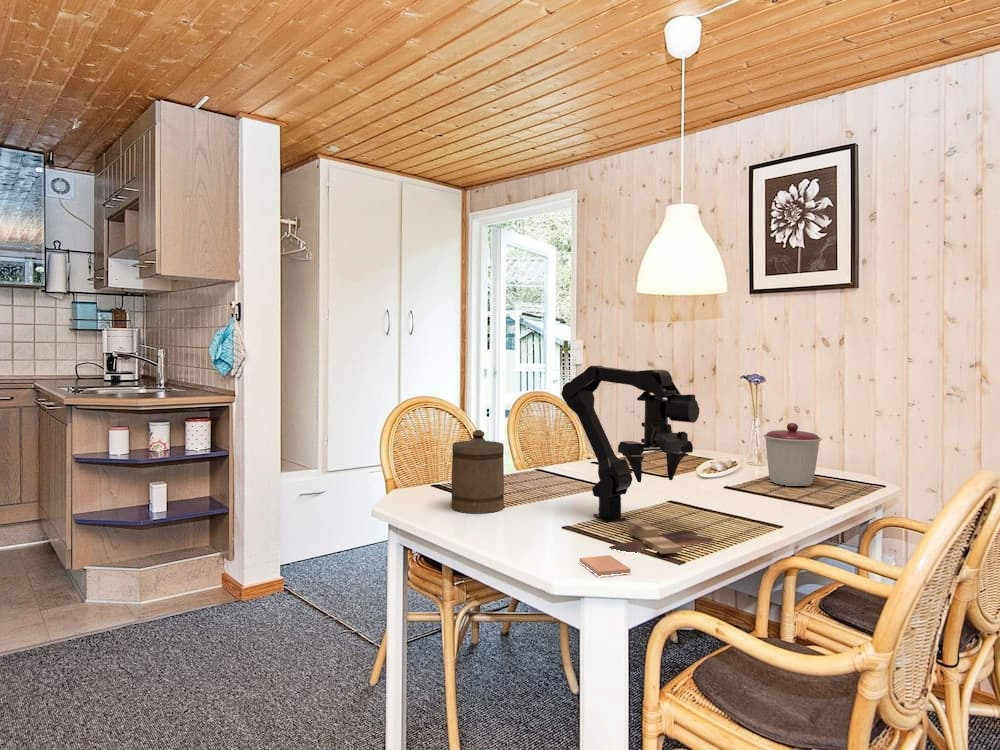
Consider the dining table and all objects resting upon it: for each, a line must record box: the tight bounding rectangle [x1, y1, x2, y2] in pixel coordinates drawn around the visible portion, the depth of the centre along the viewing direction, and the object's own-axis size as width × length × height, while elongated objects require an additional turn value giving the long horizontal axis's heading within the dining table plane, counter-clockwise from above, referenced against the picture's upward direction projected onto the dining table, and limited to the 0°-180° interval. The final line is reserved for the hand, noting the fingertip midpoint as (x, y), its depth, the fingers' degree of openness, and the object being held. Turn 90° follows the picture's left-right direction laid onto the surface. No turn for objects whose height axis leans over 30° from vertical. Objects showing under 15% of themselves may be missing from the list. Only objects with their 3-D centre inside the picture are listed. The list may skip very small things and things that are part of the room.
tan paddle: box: [627, 518, 683, 555], centre depth 149 cm, size 17×5×3 cm, turn 17°
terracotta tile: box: [579, 554, 631, 576], centre depth 133 cm, size 2×7×9 cm
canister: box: [763, 422, 823, 487], centre depth 220 cm, size 18×18×21 cm
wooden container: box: [451, 429, 505, 514], centre depth 183 cm, size 15×15×22 cm
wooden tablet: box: [608, 529, 715, 553], centre depth 150 cm, size 26×2×10 cm
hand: (655, 481), depth 163 cm, fingers open, 9 cm apart
